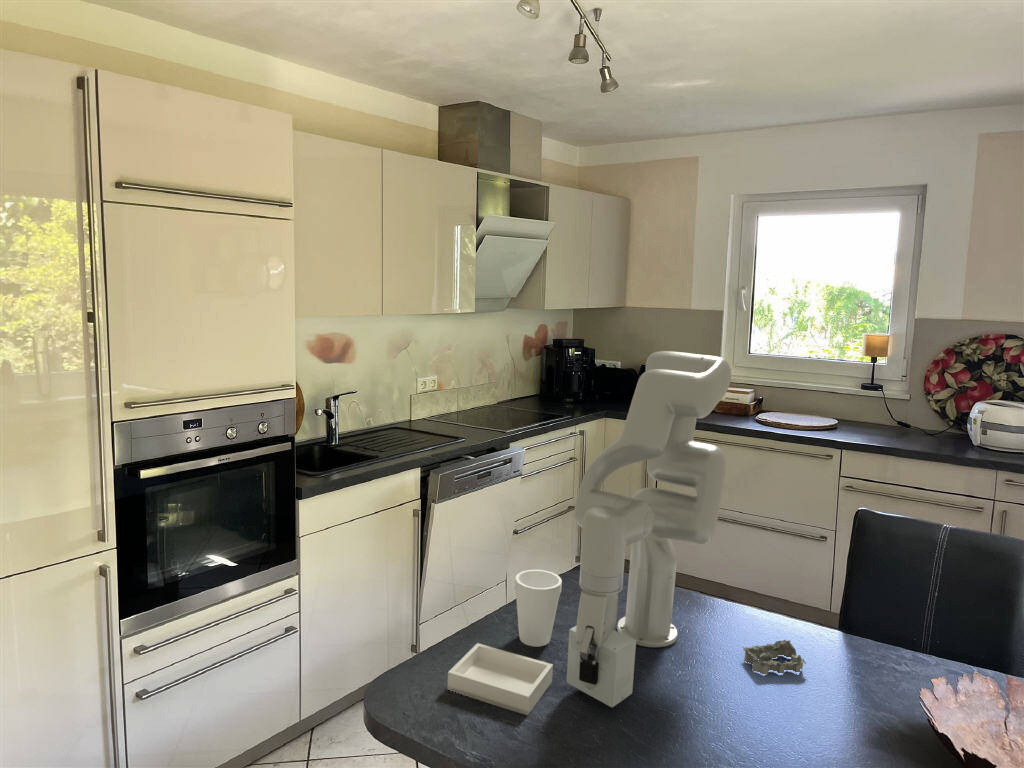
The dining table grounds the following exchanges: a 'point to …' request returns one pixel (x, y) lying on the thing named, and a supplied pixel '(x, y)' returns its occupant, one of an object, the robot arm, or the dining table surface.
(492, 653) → the trough
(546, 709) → the dining table surface
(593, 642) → the skincare box
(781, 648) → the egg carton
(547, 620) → the foam cup
